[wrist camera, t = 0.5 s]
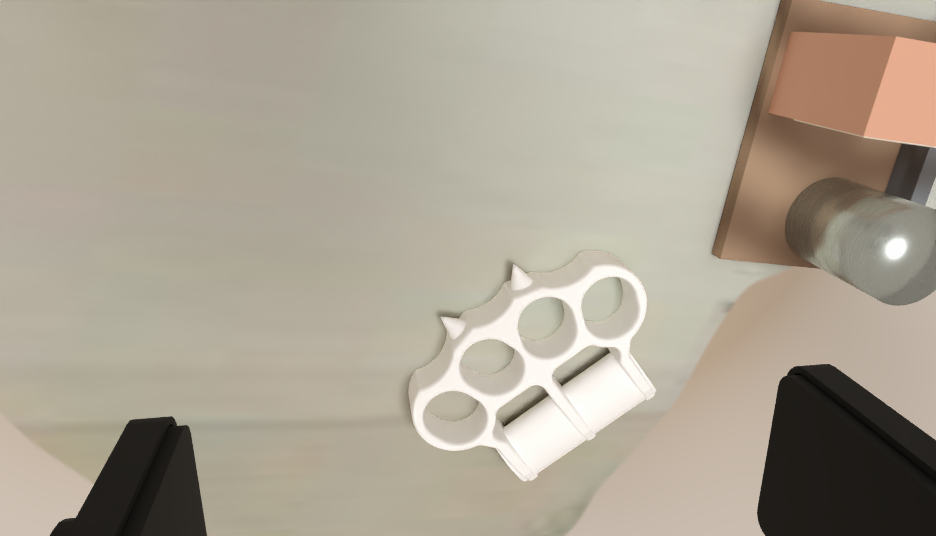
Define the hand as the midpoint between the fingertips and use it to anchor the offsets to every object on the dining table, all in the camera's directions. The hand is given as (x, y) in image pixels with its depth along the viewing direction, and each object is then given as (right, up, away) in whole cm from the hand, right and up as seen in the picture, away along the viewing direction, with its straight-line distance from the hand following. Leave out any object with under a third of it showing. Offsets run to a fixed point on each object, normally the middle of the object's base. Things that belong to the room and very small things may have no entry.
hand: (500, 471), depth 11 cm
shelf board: (+24, +12, +37) cm, 45 cm away
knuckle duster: (+4, -3, +39) cm, 40 cm away
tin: (+24, +7, +37) cm, 45 cm away
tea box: (+23, +15, +34) cm, 43 cm away
